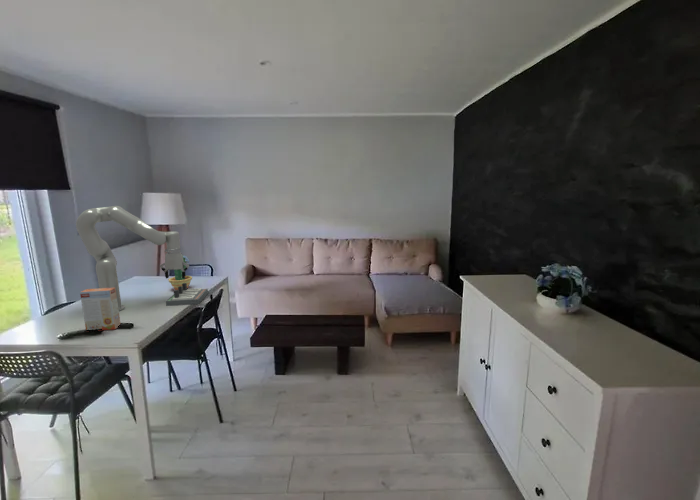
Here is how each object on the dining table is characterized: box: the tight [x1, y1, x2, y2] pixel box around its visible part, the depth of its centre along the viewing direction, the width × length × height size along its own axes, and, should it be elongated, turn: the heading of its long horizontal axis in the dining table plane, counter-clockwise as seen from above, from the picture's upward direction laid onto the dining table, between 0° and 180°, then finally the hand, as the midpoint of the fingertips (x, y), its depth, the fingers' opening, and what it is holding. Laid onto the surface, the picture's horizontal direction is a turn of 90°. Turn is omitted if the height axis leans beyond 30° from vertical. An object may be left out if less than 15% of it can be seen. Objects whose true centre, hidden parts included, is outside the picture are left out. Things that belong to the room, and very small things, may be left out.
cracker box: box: [79, 287, 121, 331], centre depth 179 cm, size 14×6×21 cm, turn 96°
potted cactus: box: [167, 254, 193, 291], centre depth 249 cm, size 15×15×25 cm
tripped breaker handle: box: [178, 286, 183, 293], centre depth 226 cm, size 2×2×4 cm
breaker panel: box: [165, 283, 209, 307], centre depth 227 cm, size 23×19×8 cm
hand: (175, 277), depth 224 cm, fingers open, 9 cm apart
